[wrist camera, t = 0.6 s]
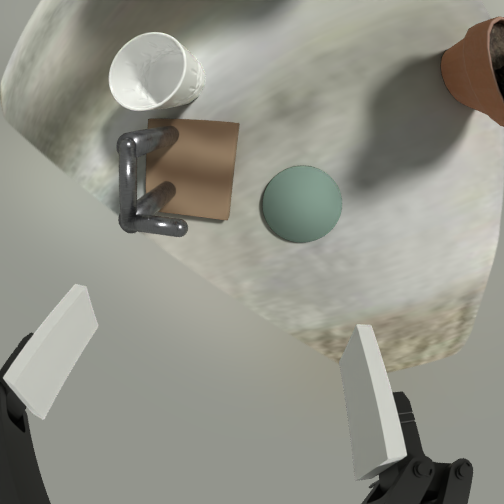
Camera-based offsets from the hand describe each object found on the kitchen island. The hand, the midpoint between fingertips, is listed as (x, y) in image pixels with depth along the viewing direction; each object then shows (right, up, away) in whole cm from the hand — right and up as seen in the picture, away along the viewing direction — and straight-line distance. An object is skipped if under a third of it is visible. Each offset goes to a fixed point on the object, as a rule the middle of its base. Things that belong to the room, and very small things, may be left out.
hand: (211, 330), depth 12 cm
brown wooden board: (-6, +14, +21) cm, 26 cm away
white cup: (-7, +24, +16) cm, 30 cm away
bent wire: (-6, +14, +19) cm, 25 cm away
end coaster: (+8, +10, +22) cm, 25 cm away
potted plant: (+31, +28, +11) cm, 43 cm away
